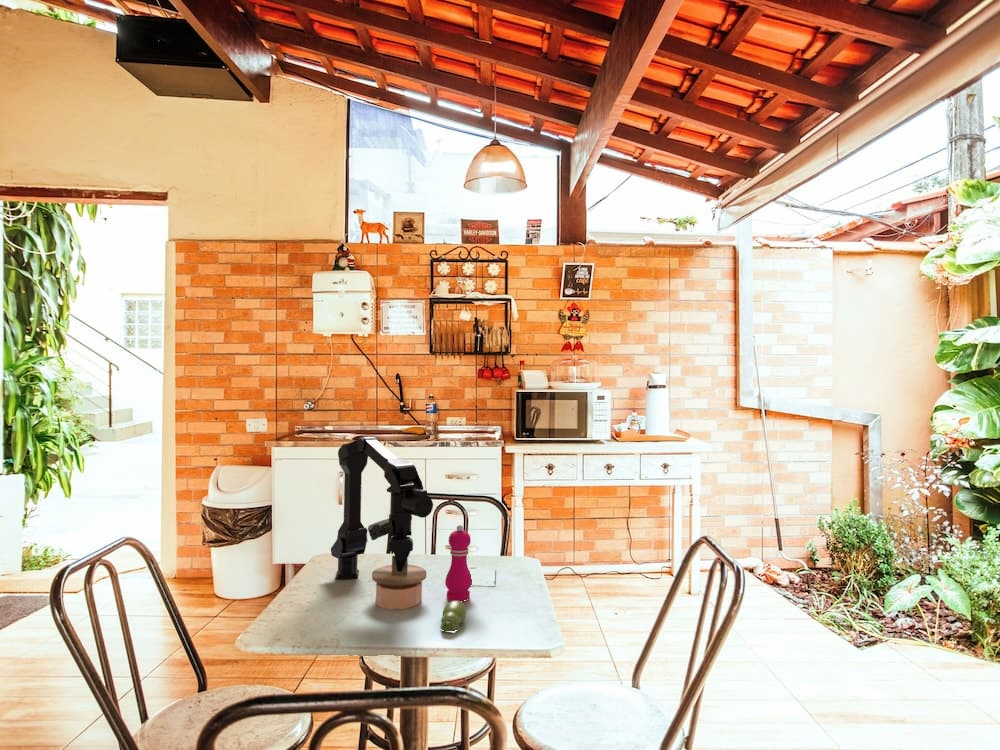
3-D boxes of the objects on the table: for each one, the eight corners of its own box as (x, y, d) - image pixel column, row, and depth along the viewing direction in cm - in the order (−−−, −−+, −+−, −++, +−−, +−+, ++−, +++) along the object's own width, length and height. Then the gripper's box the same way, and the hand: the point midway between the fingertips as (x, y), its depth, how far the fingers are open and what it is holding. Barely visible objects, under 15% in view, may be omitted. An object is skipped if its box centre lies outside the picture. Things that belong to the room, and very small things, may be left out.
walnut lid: (372, 568, 167) (372, 550, 167) (424, 567, 170) (424, 549, 170) (371, 586, 153) (371, 567, 153) (428, 584, 156) (428, 565, 156)
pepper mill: (439, 599, 163) (441, 525, 163) (453, 591, 169) (455, 520, 169) (462, 605, 159) (464, 529, 160) (476, 596, 166) (478, 523, 166)
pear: (469, 597, 150) (458, 619, 140) (469, 617, 151) (458, 640, 141) (447, 595, 151) (435, 617, 141) (447, 614, 152) (435, 637, 142)
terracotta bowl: (376, 593, 166) (377, 575, 166) (420, 591, 168) (420, 573, 168) (375, 610, 155) (375, 590, 155) (422, 608, 157) (422, 588, 157)
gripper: (371, 503, 169) (370, 559, 169) (369, 519, 151) (367, 581, 151) (411, 503, 171) (410, 558, 171) (413, 518, 153) (412, 580, 153)
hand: (399, 568), depth 162 cm, fingers closed on walnut lid, 4 cm apart
